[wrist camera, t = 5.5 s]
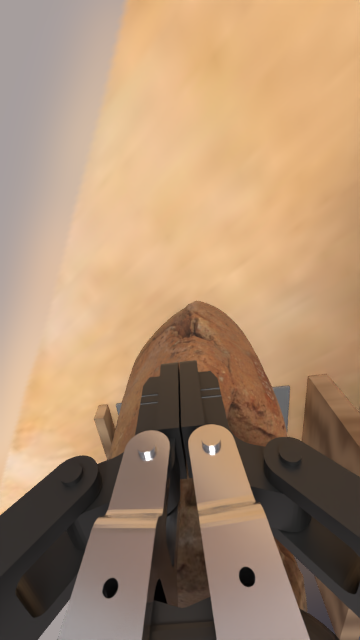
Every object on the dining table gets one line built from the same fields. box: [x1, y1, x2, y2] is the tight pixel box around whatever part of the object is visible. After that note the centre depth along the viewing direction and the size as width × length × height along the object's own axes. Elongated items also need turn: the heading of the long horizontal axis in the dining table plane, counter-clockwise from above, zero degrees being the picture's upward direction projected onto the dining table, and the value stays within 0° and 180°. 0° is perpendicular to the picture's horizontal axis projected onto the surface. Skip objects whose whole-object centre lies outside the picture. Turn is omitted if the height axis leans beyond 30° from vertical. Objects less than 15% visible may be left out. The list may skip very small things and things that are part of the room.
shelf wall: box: [302, 374, 360, 640], centre depth 30 cm, size 26×2×12 cm, turn 7°
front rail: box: [94, 405, 115, 460], centre depth 34 cm, size 21×1×2 cm, turn 7°
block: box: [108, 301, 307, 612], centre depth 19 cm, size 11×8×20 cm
